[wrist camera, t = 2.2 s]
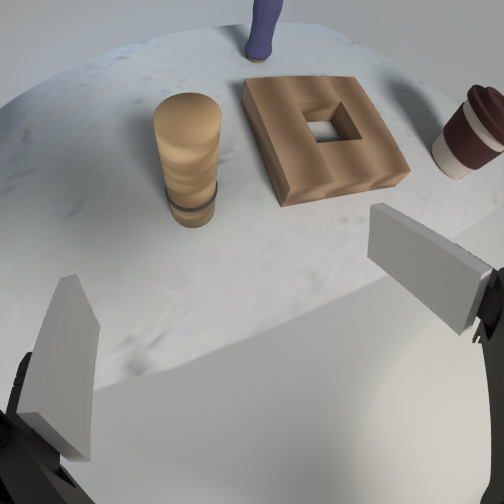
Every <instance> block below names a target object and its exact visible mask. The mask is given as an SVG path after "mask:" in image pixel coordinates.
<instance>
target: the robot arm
mask: <svg viewBox="0 0 504 504" xmlns="http://www.w3.org/2000/svg"><path fill="white" fill-rule="evenodd" d="M367 257H368V258H370V259H371V260H372V261H373V262H375V263H376V264H377V265H378V266H379V267H381V268H382V269H383V270H384V271H386V272H387V273H388V274H389V275H390V276H392V277H393V278H394V279H395V280H396V281H398V282H399V283H400V284H401V285H402V286H404V287H405V288H406V289H407V290H408V291H410V292H411V293H412V294H413V295H414V296H415V297H417V298H418V299H419V300H420V301H421V302H422V303H423V304H425V305H426V306H427V307H428V308H429V309H430V310H432V311H433V312H434V313H435V314H436V315H437V316H438V317H439V318H441V319H442V320H443V321H444V322H445V323H446V324H447V325H448V326H449V327H450V328H452V329H453V330H454V331H455V332H456V333H457V334H458V335H459V336H461V335H462V334H464V333H466V332H467V331H468V330H470V329H471V328H472V325H473V323H474V321H475V318H476V316H477V317H478V318H480V319H481V321H480V323H479V326H478V328H477V330H476V333H475V335H474V337H473V342H472V343H475V341H476V339H477V337H478V336H480V339H479V341H478V343H482V348H483V354H484V360H485V367H486V375H487V382H488V390H489V391H488V392H489V402H490V417H491V477H490V482H489V485H488V487H487V489H486V491H485V492H484V494H483V496H482V499H481V502H480V504H504V268H501V269H499V271H497V270H495V269H494V268H492V267H491V266H489V265H488V264H486V263H485V262H483V261H482V260H480V259H479V258H477V257H476V256H474V255H472V254H471V253H470V252H468V251H465V249H463V248H462V247H460V246H458V245H457V244H455V243H453V242H451V241H450V240H448V239H446V238H445V237H443V236H441V235H440V234H438V233H436V232H435V231H433V230H431V229H430V228H428V227H426V226H424V225H423V224H421V223H419V222H417V221H416V220H414V219H412V218H410V217H408V216H407V215H405V214H403V213H401V212H399V211H397V210H396V209H394V208H392V207H390V206H388V205H386V204H384V203H379V204H374V205H371V207H370V226H369V241H368V254H367ZM99 331H100V325H99V323H98V321H97V319H96V317H95V315H94V313H93V311H92V309H91V307H90V305H89V302H88V300H87V298H86V296H85V294H84V291H83V289H82V287H81V285H80V282H79V280H78V278H77V275H72V276H68V277H64V278H61V279H60V281H59V283H58V286H57V288H56V290H55V293H54V295H53V298H52V300H51V302H50V305H49V308H48V310H47V313H46V315H45V318H44V321H43V323H42V326H41V329H40V332H39V335H38V337H37V340H36V343H35V346H34V349H33V352H28V353H27V354H26V355H25V357H24V358H23V359H22V361H21V362H20V364H19V367H18V370H17V374H16V376H17V377H15V380H14V384H13V385H14V387H12V391H11V394H10V398H9V402H8V406H7V410H6V414H4V413H3V412H2V411H1V410H0V504H95V503H94V502H93V501H92V500H91V498H90V497H89V496H88V495H87V494H86V493H85V492H84V491H83V489H81V487H80V486H79V485H78V484H77V482H76V481H75V480H74V479H73V478H72V476H71V475H70V474H69V473H68V471H67V470H66V469H65V468H64V467H63V466H62V465H61V464H60V454H61V455H62V456H63V457H65V458H66V459H67V460H68V461H69V462H88V461H90V436H91V434H90V433H91V409H92V408H91V407H92V395H93V382H94V372H95V362H96V354H97V346H98V338H99Z"/></svg>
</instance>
